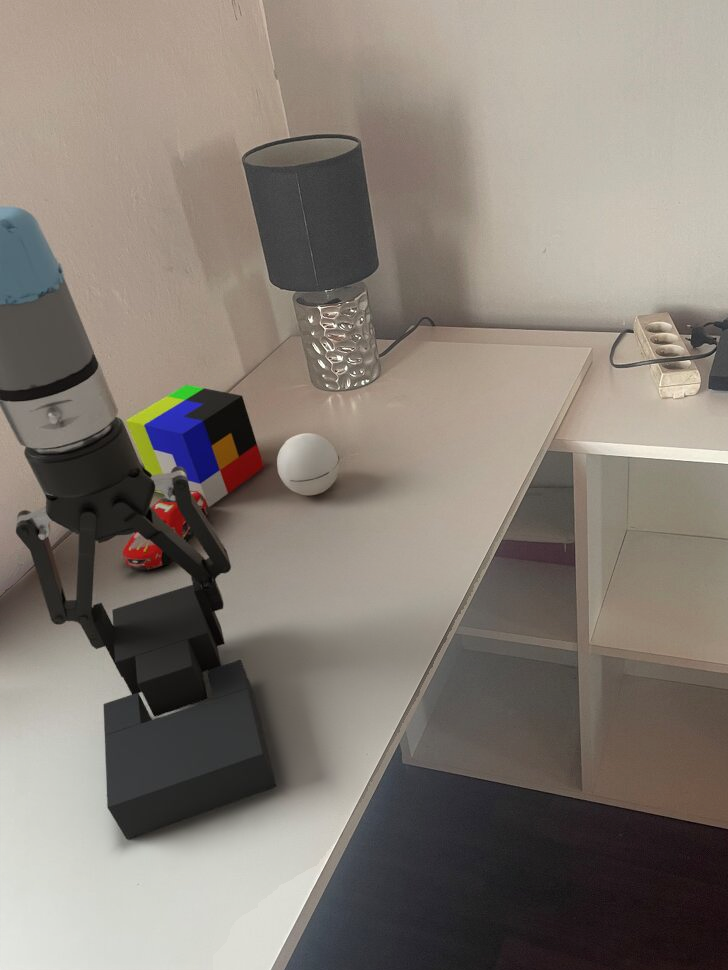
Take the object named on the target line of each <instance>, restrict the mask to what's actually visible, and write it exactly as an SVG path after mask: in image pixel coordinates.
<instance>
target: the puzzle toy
mask: <svg viewBox="0 0 728 970" xmlns="http://www.w3.org/2000/svg"><path fill="white" fill-rule="evenodd" d="M125 423H126V425H127V427H128V430H129V432H130V435H131V437H132V440H133V442H134V445H135V447H136V450H137V452H138V455H139V458H140V459H141V462H142V466H143V467H144V468H145V469H146V470H147V471H149V472H150V473H151V474H152V475H158V474H166V473H171V471H172V469H173V468H174V467H177V466H180V467H183V468H184V469H185V471H186V474H187V479H188V483H189V489H190V491H197V492H199V493H201V495H202V496H203V497H204V498H205V499H206V502H207V504H208V507H209V508H210V507H212V506H213V505H214V504H216V503H217V502H219V501H220V500H221V499H223V498H224V497H225V496H227V495H228V494H229V493H231V492H232V491H234V490H235V489H236V488H237V487H239V486H240V485H241V484H243V483H244V482H247V480H249V479H250V478H251V477H253V476H254V475H255V474H257V473H258V472H260V471H261V470H263V468H265V466H264V465H265V464H264V462H263V459H262V455H261V452H260V450H259V446H258V443H257V439H256V436H255V433H254V430H253V426H252V422H251V420H250V417H249V414H248V410H247V407H246V404H245V400H244V397H243V395H242V394H241V395H240V394H236V393H231V392H225V391H220V390H215V389H211V388H204V387H200V386H194V385H189V384H185V385H183V386H181V387H179V388H178V389H177V390H175V391H173V392H171V393H169V394H168V395H166V396H164V397H163V398H161V399H159V400H158V401H156V402H154V403H153V404H151V405H149V406H148V407H146V408H145V409H143V410H141V411H139V412H137V413H136V414H135V415H133V416H131V417H129V418H128V419H126V420H125ZM155 492H156V493H158V494H162V495H164V494H163V493H162V492H160V491H155ZM155 492H154V493H155Z"/></svg>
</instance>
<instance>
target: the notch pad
mask: <svg viewBox="0 0 728 970" xmlns="http://www.w3.org/2000/svg"><path fill="white" fill-rule="evenodd" d="M207 675H208V681H209V686H210V687H209V688H210V693H211V696H212V699H211V700H208V701H205V702H202V703H199V704H195V705H192V706H189V707H186V708H184V709H181V710H178V711H175V712H172V713H168V714H165V715H163V716H160V717H157V718H154V719H153V718H152V717H151V715H150V712H149V711H148V709H147V707H146V705H145V703H144V700H143V699H142V697H141V695H140V693H136V694H130V695H126V696H124V697H120V698H118V699H114V700H111V701H109V702H105V703H103V726H104V727H103V728H104V729H103V730H104V754H105V756H104V757H105V779H106V780H105V781H106V782H105V783H106V805H107V810H108V811H109V813H110V815H111V816H112V817H113V819H114V821H115V823H116V824H117V827H118V828H119V829H120V831H121V833H122V834H123V836H124V838H125V839H126V840H129V839H133V838H134V837H135V838H136V837H137V836H141V835H143V834H146V833H149V832H151V831H155V830H157V829H160V828H163V827H166V826H168V825H171V824H174V823H177V822H181V821H183V820H185V819H189V818H191V817H194V816H197V815H199V814H203V813H205V812H208V811H211V810H213V809H216V808H219V807H222V806H225V805H227V804H230V803H233V802H236V801H239V800H241V799H244V798H248V797H250V796H252V795H255V794H258V793H262V792H264V791H267V790H270V789H273V788H275V787H277V783H276V782H277V781H276V777H275V773H274V770H273V766H272V762H271V758H270V754H269V750H268V746H267V741H266V737H265V734H264V730H263V726H262V721H261V717H260V713H259V709H258V704H257V701H256V697H255V693H254V689H253V687H252V684H251V681H250V679H249V677H248V674H247V671H246V669H245V666H244V663H243V662H242V659H237V660H234V661H232V662H229V663H225V664H221V666H219V667H216V668H213V669H210V670H207Z"/></svg>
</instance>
